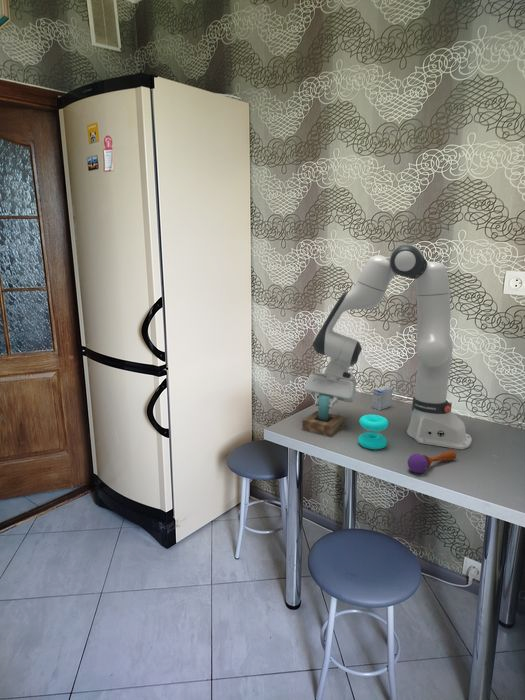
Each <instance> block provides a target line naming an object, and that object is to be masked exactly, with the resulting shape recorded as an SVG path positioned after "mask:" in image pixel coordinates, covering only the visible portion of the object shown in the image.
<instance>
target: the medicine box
mask: <svg viewBox="0 0 525 700" xmlns="http://www.w3.org/2000/svg"><path fill="white" fill-rule="evenodd" d="M392 395H393V388H392V387H389V386H385V385H384V386H380V387H376V388H373V391H372V404H371V407H372V408H373V409H375V410H377V409H378V411H382V410H385V409H387V408H390V407H391V406H392Z"/></svg>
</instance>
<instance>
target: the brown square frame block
mask: <svg viewBox="0 0 525 700" xmlns="http://www.w3.org/2000/svg"><path fill="white" fill-rule="evenodd" d="M344 427H345V416H342V415H337V414H333V413H329V418H328V420H327V421H321V420H319V419H318V410H316V411H314V412H312V413H311V414H309V415H308V416H306V417H305V418H304V419H302V428H301V429H302V431H305V430H306V431H305V432H309V431H310V433H313V432H314V434H318V435H322V436H326V437H329V438H330V437H331V438H332V437H333V436H335V434H337V433H338V432H339V431H340V430H342V429H343V428H344Z"/></svg>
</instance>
